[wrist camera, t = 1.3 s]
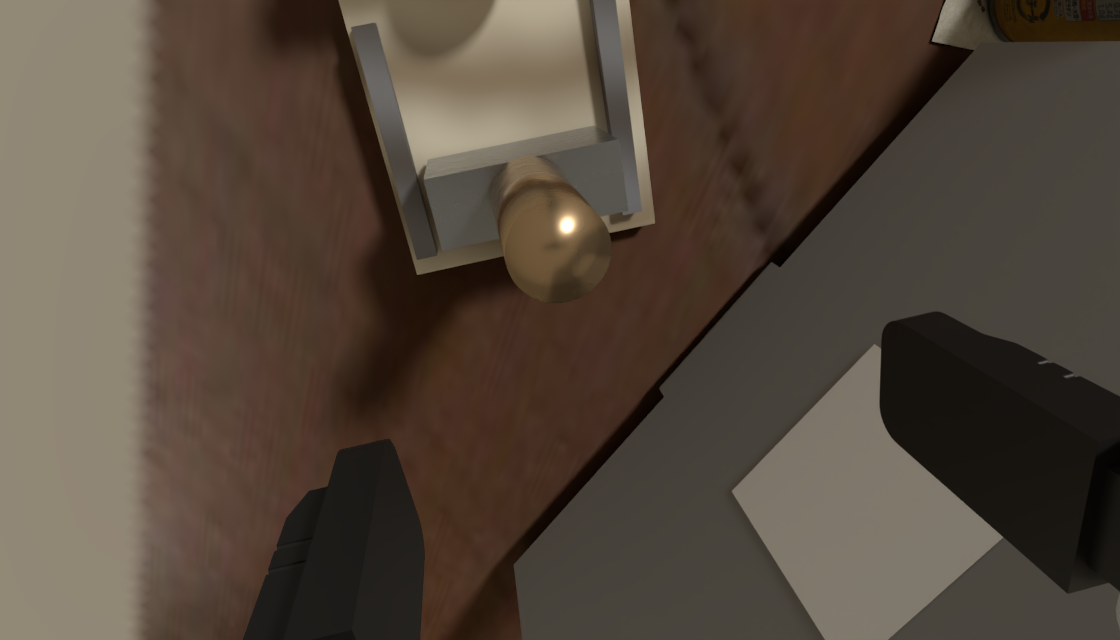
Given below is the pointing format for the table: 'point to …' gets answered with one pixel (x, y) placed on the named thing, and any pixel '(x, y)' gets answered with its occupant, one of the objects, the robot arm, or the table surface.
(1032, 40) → the condiment
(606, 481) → the laptop
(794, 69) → the table surface
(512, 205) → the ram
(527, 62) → the peg and ball tray
